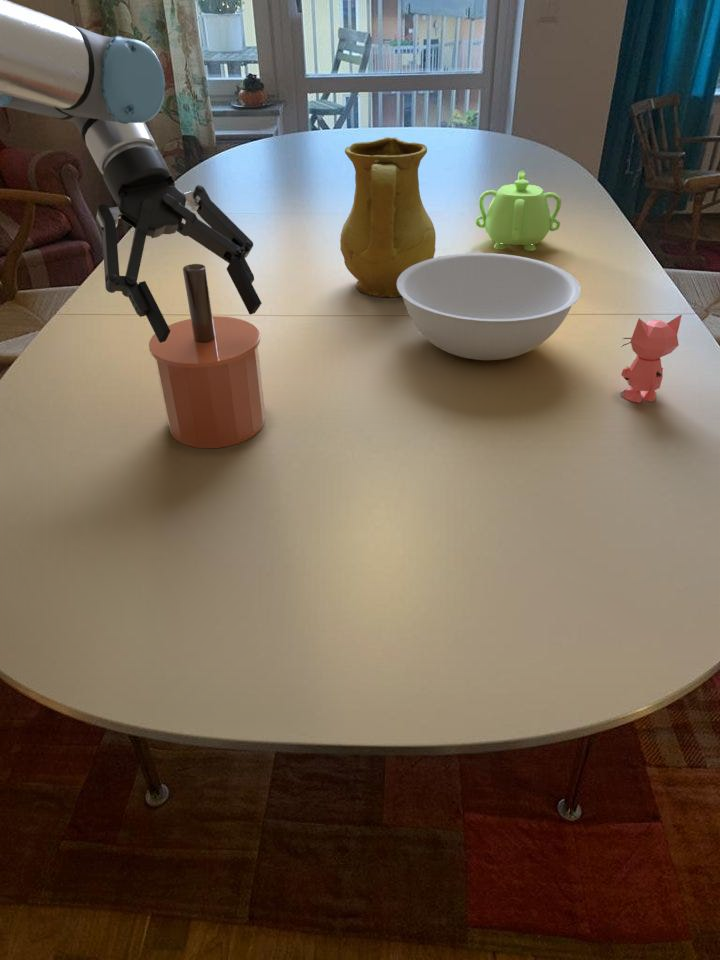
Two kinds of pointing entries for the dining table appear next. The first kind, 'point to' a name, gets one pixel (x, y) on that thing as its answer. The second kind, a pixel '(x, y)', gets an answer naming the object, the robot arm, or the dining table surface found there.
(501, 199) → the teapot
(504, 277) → the bowl
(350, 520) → the dining table surface
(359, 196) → the pitcher
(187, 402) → the jar
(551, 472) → the dining table surface
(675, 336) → the cat figurine
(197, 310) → the lid
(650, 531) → the dining table surface
